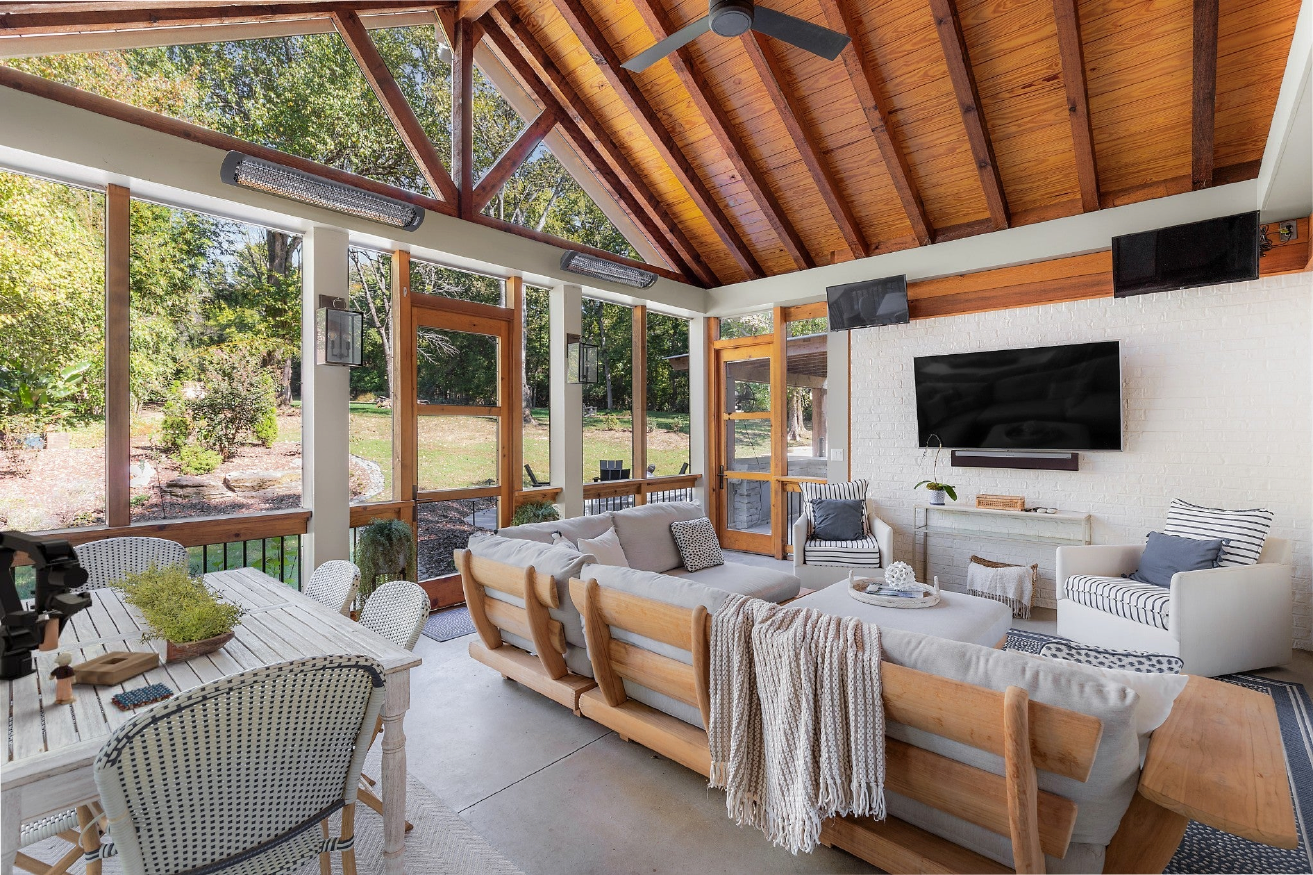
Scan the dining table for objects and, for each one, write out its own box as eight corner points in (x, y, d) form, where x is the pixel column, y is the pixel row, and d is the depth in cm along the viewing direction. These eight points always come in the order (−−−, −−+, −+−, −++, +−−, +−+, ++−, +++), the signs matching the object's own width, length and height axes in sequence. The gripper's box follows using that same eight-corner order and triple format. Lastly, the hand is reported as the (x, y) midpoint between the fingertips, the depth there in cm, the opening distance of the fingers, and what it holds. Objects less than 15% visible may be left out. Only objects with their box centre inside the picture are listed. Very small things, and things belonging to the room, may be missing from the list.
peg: (35, 651, 160) (36, 621, 160) (49, 646, 164) (50, 617, 164) (47, 651, 160) (48, 622, 160) (61, 647, 163) (62, 618, 163)
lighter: (197, 654, 184) (198, 622, 184) (200, 657, 182) (201, 625, 182) (164, 661, 178) (165, 628, 178) (167, 664, 176) (168, 631, 176)
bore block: (64, 684, 160) (64, 669, 160) (113, 664, 174) (113, 651, 174) (113, 686, 160) (113, 671, 160) (158, 666, 174) (159, 653, 174)
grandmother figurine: (85, 698, 153) (87, 649, 153) (71, 705, 149) (72, 655, 149) (55, 697, 152) (56, 649, 152) (39, 704, 149) (41, 654, 149)
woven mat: (109, 702, 152) (109, 694, 152) (160, 688, 161) (161, 681, 161) (122, 714, 146) (122, 705, 146) (175, 699, 155) (175, 691, 155)
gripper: (41, 594, 152) (39, 655, 152) (111, 578, 171) (109, 631, 171) (0, 593, 153) (-2, 653, 152) (74, 576, 171) (73, 630, 171)
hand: (48, 641), depth 162 cm, fingers closed on peg, 4 cm apart
